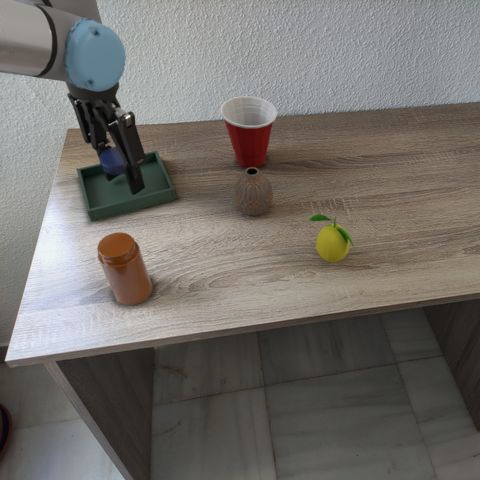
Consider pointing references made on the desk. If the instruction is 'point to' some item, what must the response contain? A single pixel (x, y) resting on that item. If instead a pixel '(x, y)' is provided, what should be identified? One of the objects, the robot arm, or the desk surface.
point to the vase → (253, 192)
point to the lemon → (332, 240)
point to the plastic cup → (249, 128)
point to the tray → (124, 189)
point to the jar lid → (111, 161)
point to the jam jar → (124, 268)
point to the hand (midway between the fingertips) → (125, 183)
